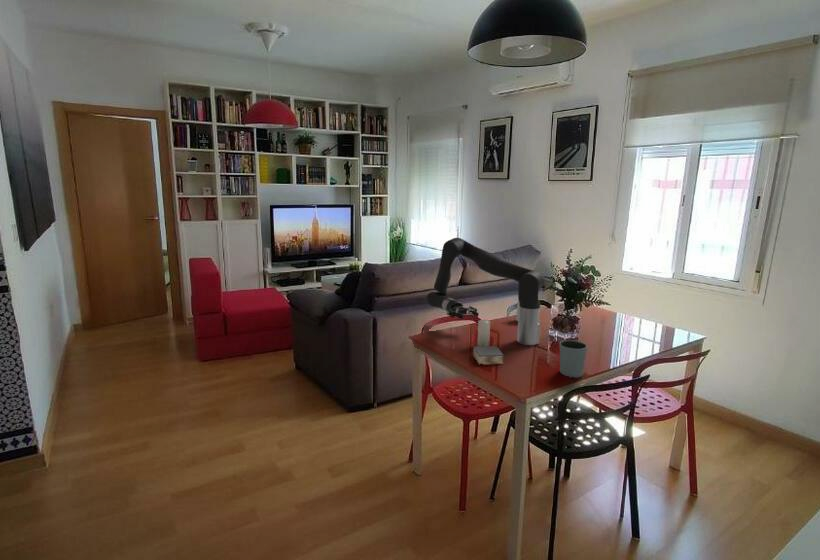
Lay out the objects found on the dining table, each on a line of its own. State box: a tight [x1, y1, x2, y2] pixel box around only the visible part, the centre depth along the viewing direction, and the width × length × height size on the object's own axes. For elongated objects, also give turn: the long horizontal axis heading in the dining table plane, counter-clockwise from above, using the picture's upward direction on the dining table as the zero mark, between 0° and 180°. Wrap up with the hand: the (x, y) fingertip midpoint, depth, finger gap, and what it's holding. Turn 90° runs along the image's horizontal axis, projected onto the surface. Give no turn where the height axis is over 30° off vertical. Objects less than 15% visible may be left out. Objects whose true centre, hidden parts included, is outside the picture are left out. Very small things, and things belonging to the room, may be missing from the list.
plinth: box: [472, 345, 504, 366], centre depth 190 cm, size 10×10×4 cm
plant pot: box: [558, 339, 588, 379], centre depth 177 cm, size 10×10×12 cm
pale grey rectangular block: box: [476, 319, 491, 347], centre depth 204 cm, size 5×5×12 cm
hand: (470, 316), depth 213 cm, fingers open, 8 cm apart
